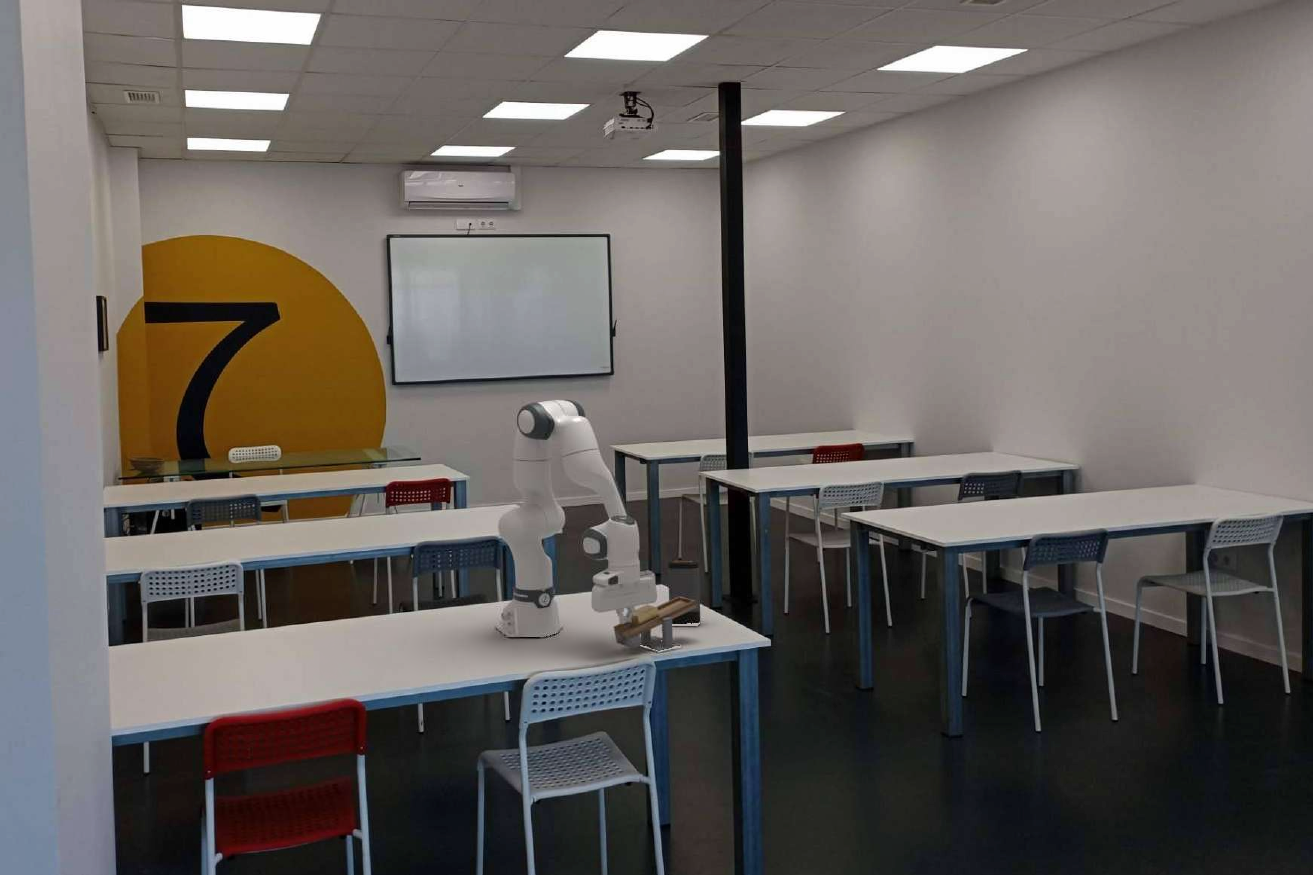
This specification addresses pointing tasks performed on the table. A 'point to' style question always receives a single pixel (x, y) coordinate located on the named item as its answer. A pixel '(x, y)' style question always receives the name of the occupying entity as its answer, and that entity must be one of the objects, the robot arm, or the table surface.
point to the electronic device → (685, 587)
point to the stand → (656, 641)
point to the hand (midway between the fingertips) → (625, 623)
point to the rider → (644, 615)
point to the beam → (652, 621)
